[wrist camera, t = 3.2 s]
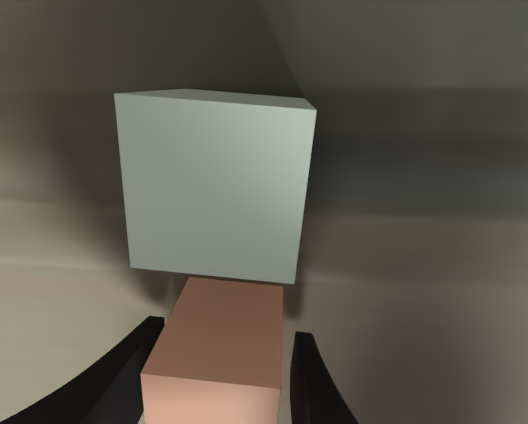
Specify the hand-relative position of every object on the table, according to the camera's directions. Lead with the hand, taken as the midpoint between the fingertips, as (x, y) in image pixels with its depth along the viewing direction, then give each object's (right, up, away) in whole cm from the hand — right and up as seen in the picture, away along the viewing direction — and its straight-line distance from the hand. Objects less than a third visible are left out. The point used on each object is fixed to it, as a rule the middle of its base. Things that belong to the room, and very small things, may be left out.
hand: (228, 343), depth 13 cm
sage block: (+1, +8, -1) cm, 8 cm away
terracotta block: (0, +1, +1) cm, 2 cm away
